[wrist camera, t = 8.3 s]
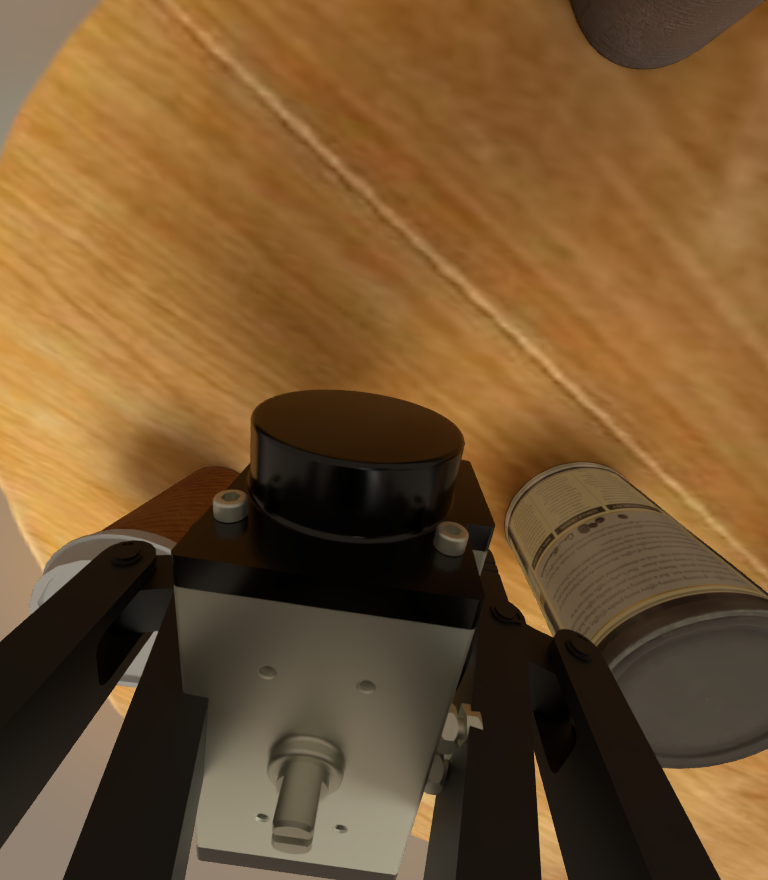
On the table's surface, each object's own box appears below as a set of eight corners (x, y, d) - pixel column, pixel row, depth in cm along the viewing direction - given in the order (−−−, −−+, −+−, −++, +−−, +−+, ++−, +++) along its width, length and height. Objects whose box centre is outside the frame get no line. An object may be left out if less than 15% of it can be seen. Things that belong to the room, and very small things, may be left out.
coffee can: (666, 493, 28) (899, 666, 15) (582, 587, 32) (713, 792, 19) (553, 437, 27) (705, 576, 14) (479, 542, 30) (543, 731, 17)
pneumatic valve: (305, 576, 19) (172, 965, 8) (324, 349, 15) (91, 511, 4) (411, 592, 19) (422, 1000, 8) (459, 369, 15) (624, 589, 4)
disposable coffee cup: (196, 422, 27) (59, 514, 16) (304, 494, 29) (250, 620, 18) (141, 509, 30) (-7, 637, 19) (243, 569, 32) (163, 717, 21)
